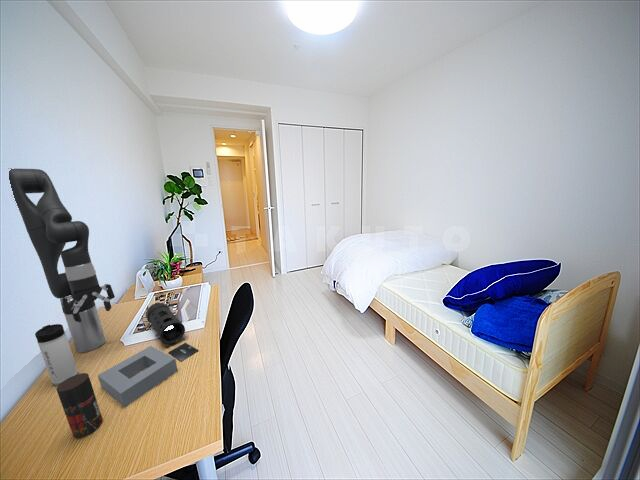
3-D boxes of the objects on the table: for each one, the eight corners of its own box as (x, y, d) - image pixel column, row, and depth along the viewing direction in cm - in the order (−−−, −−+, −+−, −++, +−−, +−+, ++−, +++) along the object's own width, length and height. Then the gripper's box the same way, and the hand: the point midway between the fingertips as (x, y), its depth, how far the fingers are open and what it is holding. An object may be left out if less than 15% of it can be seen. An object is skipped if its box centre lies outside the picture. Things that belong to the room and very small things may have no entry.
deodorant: (73, 428, 65) (57, 382, 62) (102, 413, 69) (88, 369, 66) (72, 444, 61) (55, 395, 58) (103, 427, 65) (88, 381, 62)
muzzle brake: (162, 351, 96) (157, 328, 93) (147, 325, 115) (142, 305, 113) (188, 339, 102) (183, 317, 100) (169, 317, 122) (165, 298, 119)
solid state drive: (185, 343, 100) (185, 342, 100) (199, 351, 95) (198, 350, 94) (168, 353, 94) (167, 352, 94) (181, 362, 89) (181, 361, 89)
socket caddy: (101, 388, 79) (97, 375, 78) (153, 357, 92) (150, 345, 91) (124, 407, 71) (120, 393, 70) (177, 370, 84) (175, 358, 83)
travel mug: (75, 369, 88) (58, 320, 83) (81, 376, 84) (64, 325, 80) (50, 381, 83) (31, 330, 78) (56, 389, 79) (36, 336, 75)
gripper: (101, 268, 96) (112, 305, 99) (50, 282, 83) (64, 323, 87) (110, 270, 92) (121, 308, 95) (58, 284, 80) (72, 328, 83)
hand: (94, 315), depth 91 cm, fingers open, 8 cm apart
